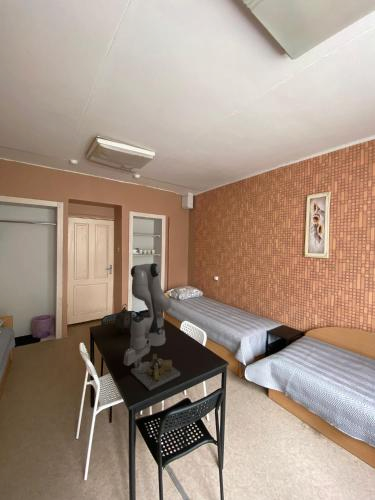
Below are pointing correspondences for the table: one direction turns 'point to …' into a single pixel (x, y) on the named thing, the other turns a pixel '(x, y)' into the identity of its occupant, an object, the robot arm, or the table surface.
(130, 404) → the table surface
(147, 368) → the gold propeller
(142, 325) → the robot arm
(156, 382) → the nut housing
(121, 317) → the tabletop clock
